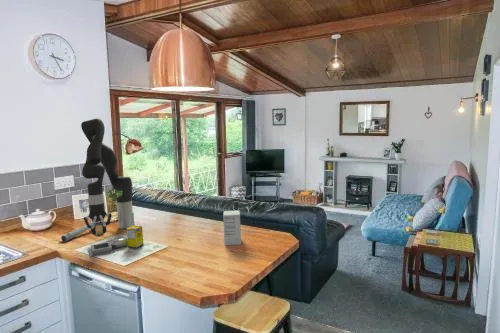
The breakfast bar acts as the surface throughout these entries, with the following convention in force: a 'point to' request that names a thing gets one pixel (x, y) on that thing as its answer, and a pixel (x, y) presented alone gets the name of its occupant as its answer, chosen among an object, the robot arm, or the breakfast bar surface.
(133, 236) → the supplement box
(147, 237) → the breakfast bar surface
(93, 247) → the grey slotted holder
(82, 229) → the grey long rod
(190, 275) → the breakfast bar surface
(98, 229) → the tan grey cylinder
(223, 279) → the breakfast bar surface
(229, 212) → the supplement box
